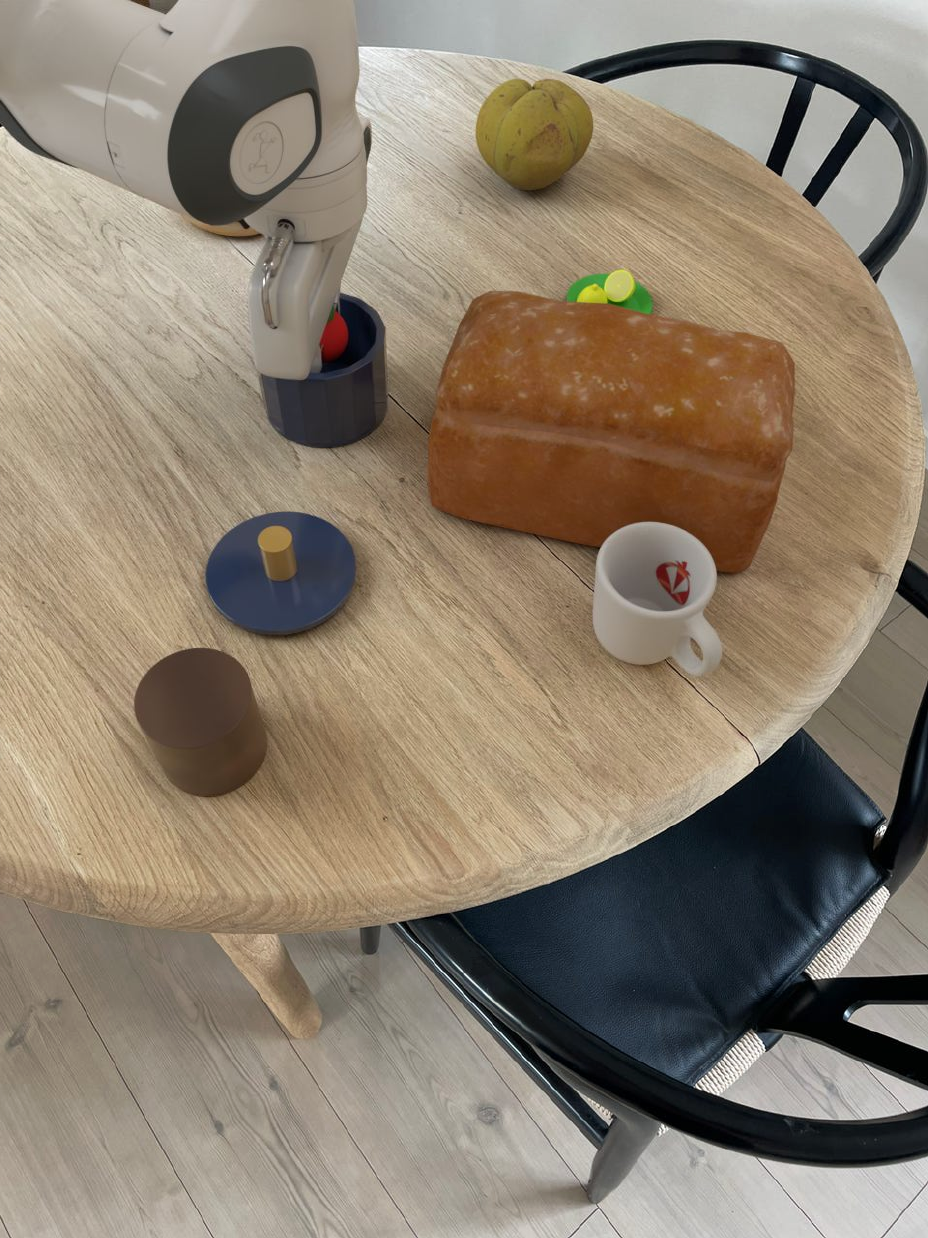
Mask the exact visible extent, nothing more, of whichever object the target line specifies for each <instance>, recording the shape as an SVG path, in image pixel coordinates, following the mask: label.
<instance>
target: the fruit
mask: <svg viewBox="0 0 928 1238" xmlns="http://www.w3.org/2000/svg"><path fill="white" fill-rule="evenodd" d="M474 132H475V141H476V147H477V149H478V151H479V153H480V155H481V157H482V159H483V161H484V162H485V163H486V165H487V166H489V168H490V169H491V170H492V171H493V172H494V173H495V174H496V175H497V176H498V177H499V178H500V179H502V181H504V182H505V183H507V185H509V186H511V187H512V188H515V189H518V190H523V191H535V190H540V189H543V188H546V187H548V186H550V185H551V184H553V183H554V182H556V181H557V180H559V179H560V178H561V177H562V176H564V175H565V174H566V173H567V172H569V171H570V170H571V169H572V168H574V167H575V166H576V165H577V164H578V163H579V162H580V161H581V159H582V158H583V157H584V156H585V154H586V153H587V150H588V148H589V145H590V144H591V141H592V138H593V133H594V118H593V113H592V110H591V108H590V106H589V104H588V102H587V101H586V100H585V99H584V98H583V96H582V95H581V94H580V93H578V91H577V90H575V89H573V88H572V87H571V86H570V85H569V84H567V83H565V82H563V81H561V80H559V79H554V78H553V79H552V78H542V79H538V80H537V81H535V82H534V83H533V85H532V84H531V83H529V82H528V81H527V80H525V79H522V78H512V79H509V80H506V81H504V82H503V83H501V84H500V85H498V86H496V87H495V89H493V90H492V91H491V92H490V94H489V95H488V96H487V97H486V98H485V100H484V101H483V102H482V105H481V107H480V109H479V112H478V115H477V118H476V122H475V131H474Z"/></svg>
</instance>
